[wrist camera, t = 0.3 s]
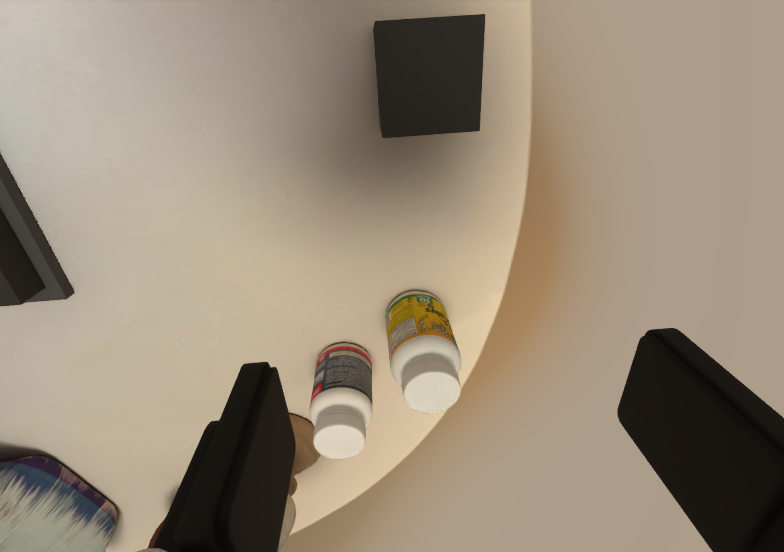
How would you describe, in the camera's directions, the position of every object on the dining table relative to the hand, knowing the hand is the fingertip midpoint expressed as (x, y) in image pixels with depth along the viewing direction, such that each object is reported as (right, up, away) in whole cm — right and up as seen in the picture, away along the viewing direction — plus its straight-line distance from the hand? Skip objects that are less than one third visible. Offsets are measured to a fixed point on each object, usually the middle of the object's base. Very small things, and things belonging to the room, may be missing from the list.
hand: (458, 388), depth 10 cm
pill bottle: (-6, -5, +27) cm, 28 cm away
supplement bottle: (0, 0, +25) cm, 25 cm away
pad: (0, +16, +16) cm, 22 cm away
